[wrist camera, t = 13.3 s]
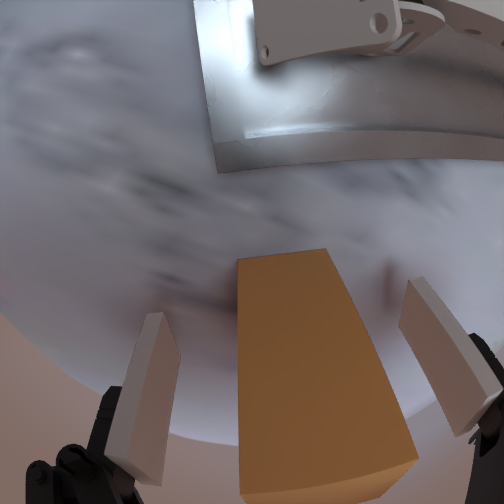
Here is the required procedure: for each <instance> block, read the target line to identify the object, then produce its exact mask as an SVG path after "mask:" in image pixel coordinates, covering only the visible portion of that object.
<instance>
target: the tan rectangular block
mask: <svg viewBox="0 0 504 504" xmlns="http://www.w3.org/2000/svg"><path fill="white" fill-rule="evenodd" d="M238 430H239V483H240V484H239V485H240V495H241V497H242V498H243V499H244V500H245V502H246V503H247V504H358V503H361V502H365V501H369V500H372V499H376V498H379V497H380V496H382V495H383V494H384V493H385V492H386V491H387V490H388V489H389V488H390V487H391V486H392V485H393V484H394V483H396V482H397V481H398V479H400V478H401V477H402V476H403V475H404V474H405V473H406V472H407V471H408V469H409V468H410V467H411V466H412V465H413V464H414V463H415V462H416V461H417V460H418V459H419V457H418V454H417V451H416V448H415V446H414V443H413V440H412V437H411V435H410V432H409V429H408V427H407V424H406V422H405V419H404V416H403V414H402V411H401V409H400V406H399V404H398V401H397V399H396V397H395V394H394V392H393V389H392V387H391V384H390V382H389V380H388V377H387V375H386V373H385V370H384V368H383V366H382V364H381V361H380V359H379V357H378V355H377V352H376V350H375V348H374V346H373V343H372V341H371V339H370V337H369V335H368V333H367V330H366V328H365V326H364V324H363V322H362V320H361V318H360V316H359V313H358V311H357V309H356V307H355V305H354V303H353V301H352V299H351V297H350V295H349V293H348V291H347V289H346V287H345V285H344V283H343V281H342V279H341V277H340V275H339V273H338V271H337V269H336V267H335V265H334V263H333V261H332V260H331V258H330V256H329V254H328V252H327V250H326V249H318V250H310V251H302V252H294V253H286V254H278V255H270V256H262V257H254V258H246V259H238Z"/></svg>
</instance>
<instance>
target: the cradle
mask: <svg viewBox="0 0 504 504" xmlns="http://www.w3.org/2000/svg"><path fill="white" fill-rule="evenodd" d="M193 2H194V10H195V18H196V26H197V34H198V41H199V49H200V56H201V64H202V71H203V78H204V85H205V92H206V99H207V106H208V112H209V119H210V126H211V132H212V139H213V145H214V152H215V158H216V164H217V171H218V174H219V173H226V172H234V171H241V170H249V169H257V168H265V167H274V166H284V165H294V164H305V163H317V162H331V161H346V160H366V159H398V158H446V159H475V160H493V161H504V52H503V51H502V50H500V49H498V48H497V47H495V46H493V45H491V44H489V43H487V42H485V41H482V40H480V39H477V38H474V37H470V36H467V35H464V34H461V33H458V32H456V31H455V30H454V29H453V28H452V27H451V26H450V25H448V24H446V23H445V27H444V28H442V29H441V30H440V31H438V32H437V33H435V34H434V35H432V36H431V37H429V38H428V39H426V40H425V41H424V42H422V43H421V44H419V45H418V46H416V47H415V48H414V49H412V50H411V51H409V52H408V53H407V54H405V55H404V56H385V57H369V56H364V55H359V54H353V53H347V52H340V51H335V52H329V53H324V54H318V55H313V56H308V57H304V58H299V59H295V60H291V61H287V62H283V63H279V64H275V65H268V66H265V65H263V64H262V63H261V62H260V60H259V55H258V46H257V39H258V38H256V29H255V20H254V12H253V3H252V0H193ZM414 33H415V32H410V33H408V34H407V35H405V36H404V37H402V38H401V39H399V40H397V41H396V42H394V43H393V44H391V45H390V46H388V47H387V48H392V49H398V48H399V47H401V46H402V45H403V44H404V43H405V42H406V41H407V40H408V39H409V38H410V37H411V36H412V35H413V34H414ZM266 55H267V58H268V55H269V50H268V48H267V50H266Z"/></svg>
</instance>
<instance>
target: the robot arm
mask: <svg viewBox="0 0 504 504" xmlns="http://www.w3.org/2000/svg"><path fill="white" fill-rule="evenodd" d="M399 328H400V329H401V331H402V333H403V335H404V336H405V338H406V340H407V342H408V344H409V345H410V347H411V349H412V351H413V353H414V354H415V356H416V358H417V360H418V362H419V364H420V366H421V368H422V369H423V371H424V373H425V375H426V377H427V379H428V381H429V383H430V385H431V387H432V389H433V391H434V393H435V395H436V397H437V399H438V401H439V403H440V405H441V407H442V409H443V411H444V414H445V416H446V418H447V420H448V422H449V425H450V427H451V429H452V431H453V433H454V436H455V437H458V436H460V435H462V434H464V433H466V432H468V431H470V430H471V429H472V428H473V427H474V426H475V424H476V423H478V425H479V427H480V428H479V429H478V430H477V431H476V432H475V433H474V434H473V436H472V437H471V438H470V440H469V443H468V444H471V443H472V442H473V441H474V440H475V439H476V441H475V443H474V444H475V452H474V459H473V465H472V472H471V477H470V482H469V487H468V492H467V496H466V500H465V504H504V369H503V367H502V365H501V364H500V363H499V361H498V359H497V358H495V355H494V354H493V352H492V351H490V348H489V346H488V345H487V344H486V342H485V341H484V340H483V339H482V338H481V337H479V336H478V335H477V334H475V333H472V334H469V335H468V334H467V333H466V332H465V330H464V329H463V328H462V326H461V325H460V324H459V322H458V321H457V320H456V318H455V317H454V316H453V314H452V313H451V312H450V310H449V309H448V308H447V306H446V305H445V304H444V303H443V301H442V300H441V299H440V298H439V296H438V295H437V294H436V293H435V291H434V290H433V289H432V288H431V287H430V285H429V284H428V283H427V282H426V280H425V279H424V278H423V277H420V278H415V279H409V280H408V285H407V290H406V295H405V300H404V305H403V309H402V314H401V318H400V322H399ZM180 358H181V355H180V353H179V350H178V348H177V345H176V343H175V340H174V338H173V335H172V333H171V330H170V328H169V325H168V322H167V320H166V317H165V314H164V312H158V313H147V315H146V318H145V321H144V323H143V326H142V329H141V332H140V335H139V338H138V341H137V343H136V346H135V349H134V352H133V355H132V358H131V361H130V364H129V368H128V371H127V374H126V377H125V380H124V383H123V387H121V386H111V387H110V388H109V389H108V390H107V392H106V393H105V394H104V395H103V397H102V401H101V403H100V407H99V410H98V413H97V416H96V417H97V419H96V420H95V422H94V426H93V429H92V432H91V436H90V439H89V442H88V446H87V449H84V448H83V447H82V446H81V445H77V444H70V445H67V446H65V447H63V448H62V449H61V450H60V451H59V453H58V455H57V458H56V466H50V465H49V464H48V463H46V462H45V461H41V460H38V461H34V462H33V463H31V464H30V466H29V467H28V469H27V472H26V504H144V503H143V501H142V499H141V497H140V495H139V493H138V491H137V490H136V488H135V487H134V483H135V479H136V480H137V481H138V482H140V483H141V484H146V485H154V486H161V485H162V477H163V469H164V460H165V453H166V446H167V439H168V432H169V425H170V418H171V412H172V405H173V399H174V393H175V387H176V381H177V375H178V369H179V364H180Z"/></svg>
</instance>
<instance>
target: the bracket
mask: <svg viewBox="0 0 504 504" xmlns="http://www.w3.org/2000/svg"><path fill="white" fill-rule="evenodd" d="M252 3H253V12H254V20H255V29H256V38H258V39H257V46H258V55H259V60H260V62H261V63H262V64H263V65H265V66H268V65H275V64H279V63H283V62H287V61H291V60H295V59H299V58H304V57H308V56H313V55H318V54H324V53H329V52H335V51H340V52H347V53H353V54H359V55H364V56H369V57H385V56H404V55H405V54H407V53H408V52H409V51H411V50H412V49H414V48H415V47H416V46H418V45H419V44H421V43H422V42H424V41H425V40H426V39H428V38H429V37H431V36H432V35H434V34H435V33H437V32H438V31H440V30H441V29H442V28H444V27H445V23H446V24H448V25H450V26H451V27H452V28H453V29H454V30H455V31H456V32H458V33H461V34H464V35H467V36H470V37H474V38H477V39H480V40H482V41H485V42H487V43H489V44H491V45H493V46H495V47H497V48H498V49H500V50H502V51H503V52H504V0H252ZM410 32H415V33H414V34H413V35H412V36H411V37H410V38H409V39H408V40H407V41H406V42H405V43H404V44H403V45H402V46H401V47H399V48H398V49H392V48H387V47H388V46H390V45H391V44H393V43H394V42H396V41H397V40H399V39H401V38H402V37H404V36H405V35H407V34H408V33H410ZM267 48H268V50H269V55H268V58H267V55H266V50H267Z"/></svg>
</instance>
